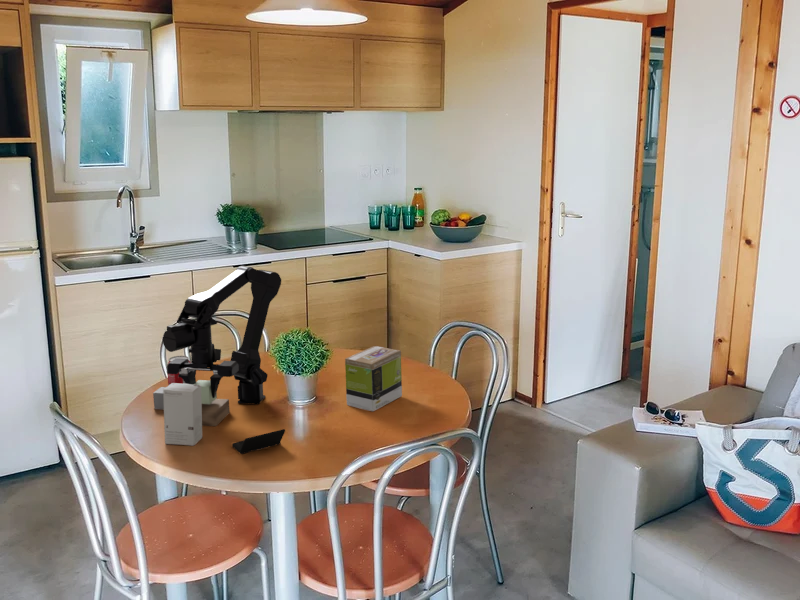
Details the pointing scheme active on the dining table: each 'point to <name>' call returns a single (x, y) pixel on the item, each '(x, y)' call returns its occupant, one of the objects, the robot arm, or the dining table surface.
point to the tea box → (373, 378)
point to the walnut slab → (215, 412)
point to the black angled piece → (259, 442)
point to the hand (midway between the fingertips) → (204, 396)
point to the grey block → (159, 398)
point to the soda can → (174, 377)
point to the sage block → (206, 391)
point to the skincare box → (182, 414)
